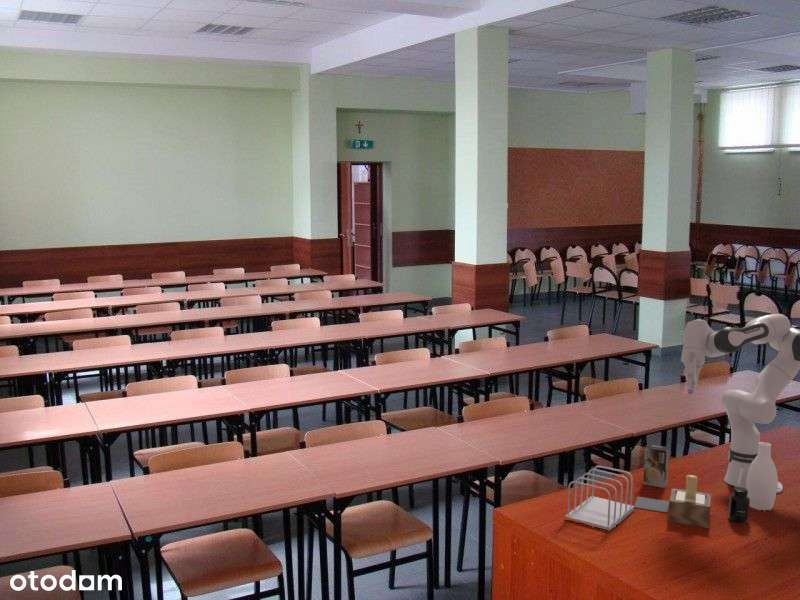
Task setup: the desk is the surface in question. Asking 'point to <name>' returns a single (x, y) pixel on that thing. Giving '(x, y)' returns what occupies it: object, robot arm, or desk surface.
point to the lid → (691, 492)
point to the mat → (652, 504)
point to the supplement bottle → (739, 505)
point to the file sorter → (600, 503)
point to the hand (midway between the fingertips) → (689, 391)
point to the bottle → (762, 479)
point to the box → (689, 510)
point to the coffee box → (655, 465)
